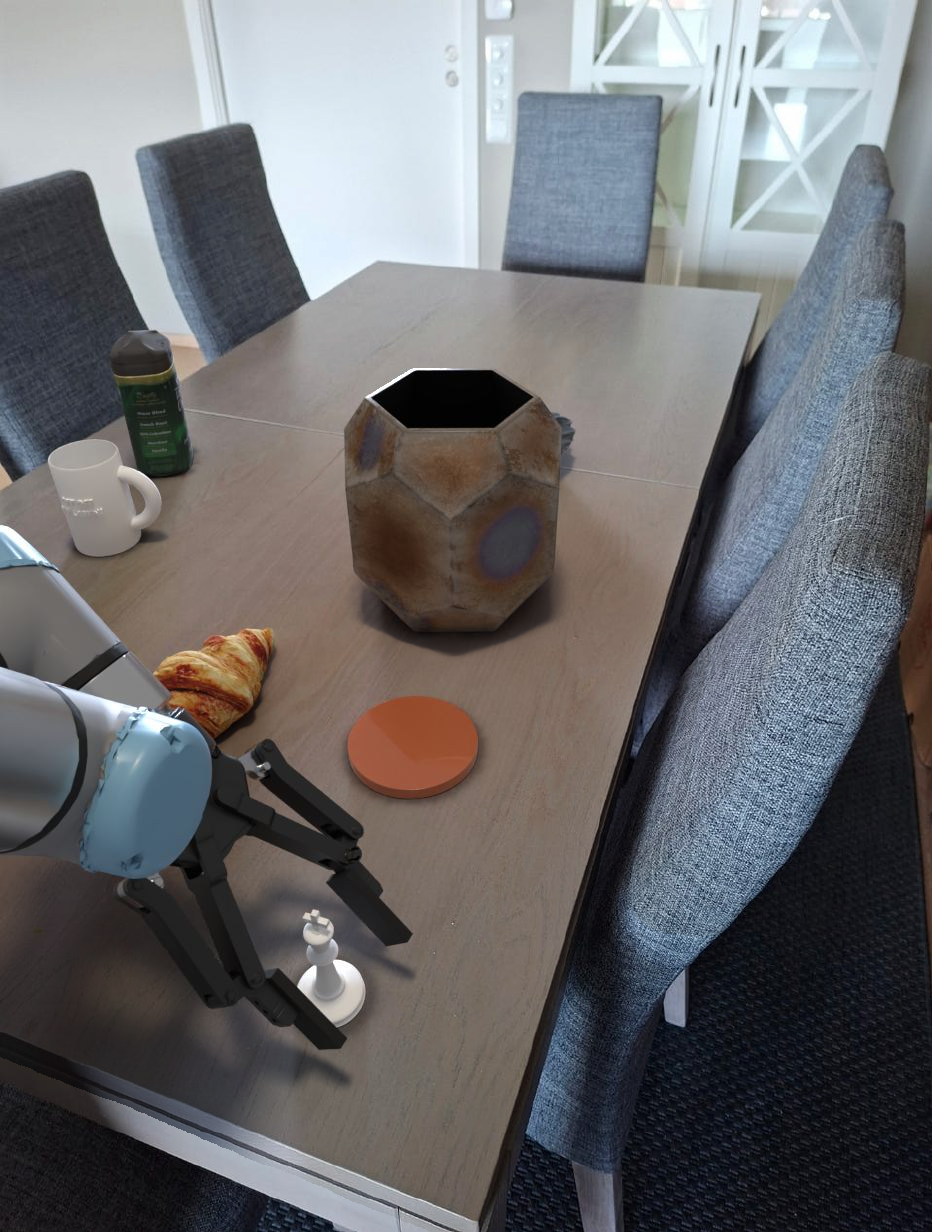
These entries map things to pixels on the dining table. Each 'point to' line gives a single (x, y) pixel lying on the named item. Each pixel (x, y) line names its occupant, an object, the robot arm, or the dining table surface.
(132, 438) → the coffee jar
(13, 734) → the robot arm
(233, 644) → the croissant
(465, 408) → the planter
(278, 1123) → the dining table surface
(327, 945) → the chess piece
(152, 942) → the dining table surface
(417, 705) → the orange flat disc
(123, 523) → the mug
